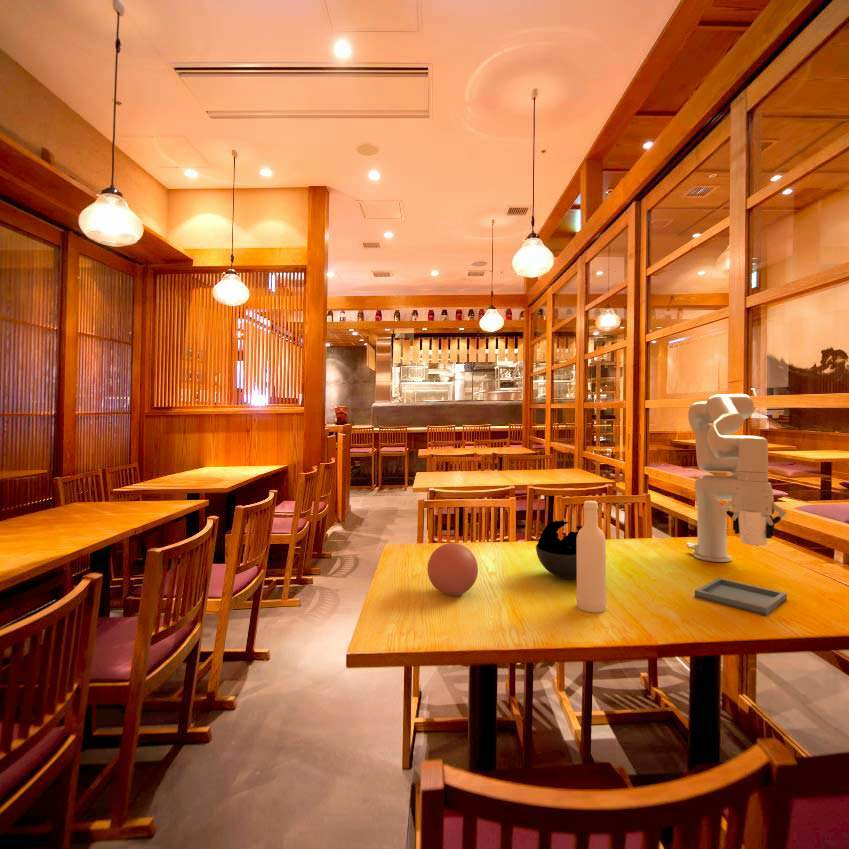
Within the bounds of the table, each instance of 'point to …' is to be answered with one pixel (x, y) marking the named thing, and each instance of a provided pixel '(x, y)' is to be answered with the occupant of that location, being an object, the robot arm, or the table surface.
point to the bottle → (591, 562)
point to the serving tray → (741, 596)
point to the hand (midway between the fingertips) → (753, 535)
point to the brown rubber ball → (452, 569)
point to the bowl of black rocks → (558, 551)
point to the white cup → (752, 528)
